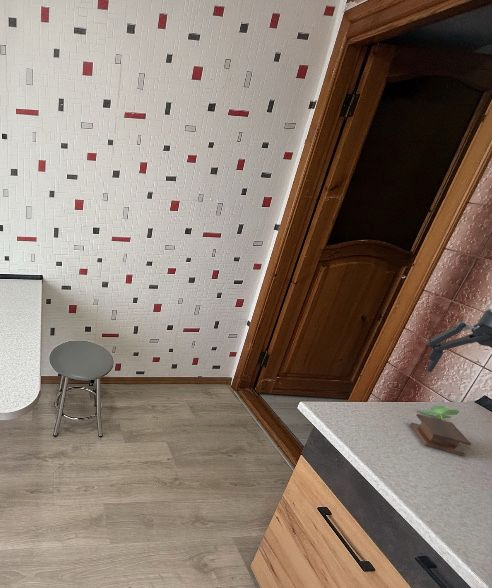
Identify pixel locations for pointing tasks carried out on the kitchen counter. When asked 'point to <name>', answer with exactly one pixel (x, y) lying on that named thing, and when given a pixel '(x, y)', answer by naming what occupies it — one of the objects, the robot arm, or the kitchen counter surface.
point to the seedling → (441, 412)
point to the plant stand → (439, 434)
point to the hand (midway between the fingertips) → (462, 381)
